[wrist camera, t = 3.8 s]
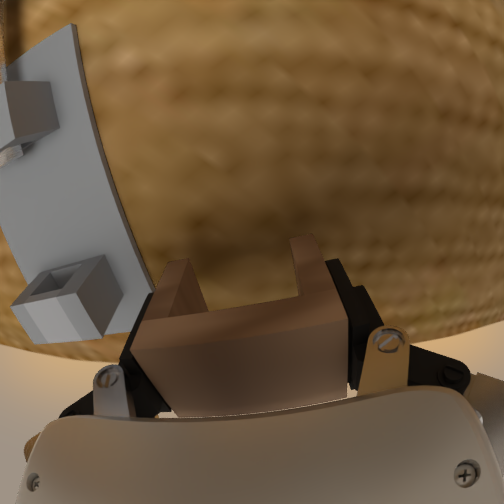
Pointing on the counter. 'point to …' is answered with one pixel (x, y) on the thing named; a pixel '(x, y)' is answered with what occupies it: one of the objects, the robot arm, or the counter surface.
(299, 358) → the block
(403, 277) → the counter surface
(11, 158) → the shaft
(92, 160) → the bearing block
